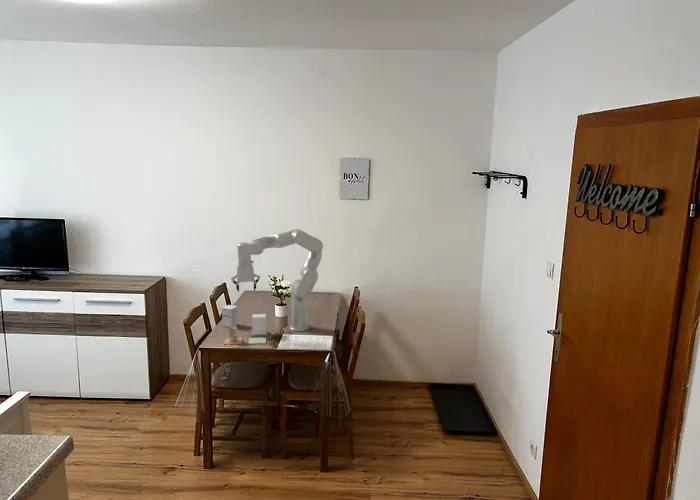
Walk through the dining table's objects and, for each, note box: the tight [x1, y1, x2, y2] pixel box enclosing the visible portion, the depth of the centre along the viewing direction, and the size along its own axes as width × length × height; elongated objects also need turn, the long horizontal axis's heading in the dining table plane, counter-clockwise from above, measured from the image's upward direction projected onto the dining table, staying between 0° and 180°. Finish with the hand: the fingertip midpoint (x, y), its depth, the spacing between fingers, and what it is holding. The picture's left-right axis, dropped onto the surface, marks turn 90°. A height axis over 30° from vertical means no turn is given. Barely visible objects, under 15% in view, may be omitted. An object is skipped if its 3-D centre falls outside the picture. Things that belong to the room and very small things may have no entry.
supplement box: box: [221, 304, 239, 328], centre depth 323 cm, size 7×7×13 cm
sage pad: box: [248, 337, 267, 345], centre depth 298 cm, size 10×9×1 cm
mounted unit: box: [250, 313, 269, 338], centre depth 308 cm, size 10×8×12 cm
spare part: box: [228, 326, 238, 342], centre depth 296 cm, size 4×4×8 cm
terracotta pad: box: [223, 337, 243, 346], centre depth 297 cm, size 10×9×1 cm
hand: (246, 290), depth 306 cm, fingers open, 9 cm apart
